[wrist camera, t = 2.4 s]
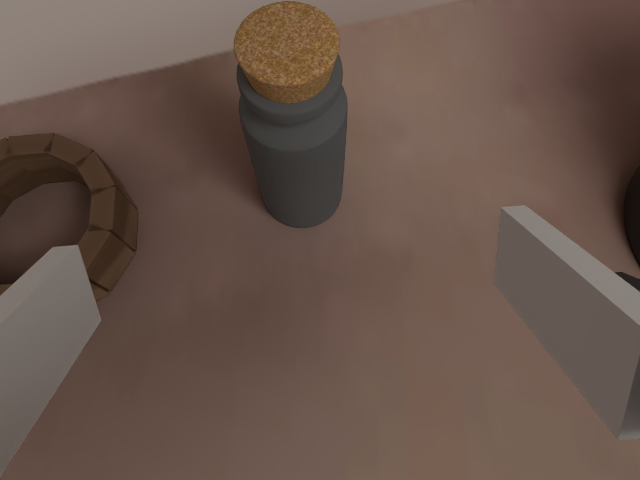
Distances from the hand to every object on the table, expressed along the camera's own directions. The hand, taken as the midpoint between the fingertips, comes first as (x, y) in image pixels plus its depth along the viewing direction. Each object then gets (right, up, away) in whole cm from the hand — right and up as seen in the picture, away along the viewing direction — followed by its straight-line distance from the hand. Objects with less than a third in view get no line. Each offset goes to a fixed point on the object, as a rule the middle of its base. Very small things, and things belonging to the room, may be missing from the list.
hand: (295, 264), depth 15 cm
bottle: (-1, +4, +20) cm, 21 cm away
